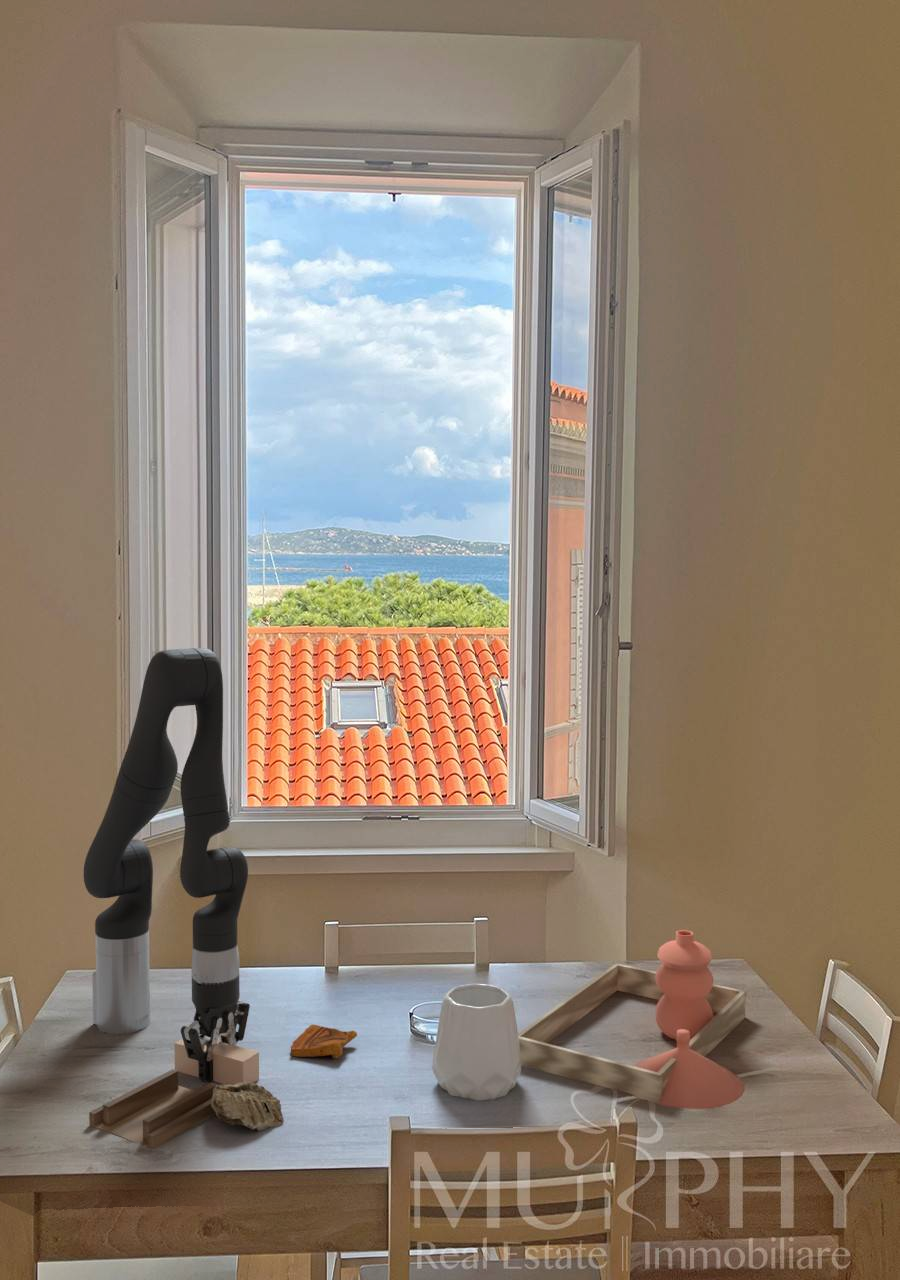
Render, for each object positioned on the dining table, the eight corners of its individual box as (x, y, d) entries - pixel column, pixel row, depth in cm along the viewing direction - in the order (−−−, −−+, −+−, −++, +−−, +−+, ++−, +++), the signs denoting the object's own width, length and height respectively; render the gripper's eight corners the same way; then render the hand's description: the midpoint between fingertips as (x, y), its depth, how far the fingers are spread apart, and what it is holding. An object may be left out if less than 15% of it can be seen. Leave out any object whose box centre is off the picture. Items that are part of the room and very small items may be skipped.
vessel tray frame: (512, 1066, 198) (513, 1036, 198) (615, 988, 232) (615, 963, 232) (659, 1106, 184) (660, 1075, 184) (745, 1017, 219) (746, 991, 218)
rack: (89, 1130, 176) (89, 1104, 175) (169, 1088, 189) (168, 1063, 189) (152, 1155, 169) (152, 1128, 168) (230, 1109, 182) (230, 1084, 182)
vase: (419, 1076, 194) (419, 985, 193) (498, 1061, 200) (499, 973, 198) (453, 1115, 181) (454, 1018, 180) (536, 1098, 187) (538, 1004, 185)
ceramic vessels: (753, 1124, 180) (755, 1002, 178) (612, 1111, 184) (612, 992, 182) (744, 1030, 214) (745, 927, 212) (625, 1021, 218) (625, 920, 216)
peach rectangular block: (174, 1072, 195) (174, 1042, 194) (191, 1063, 198) (190, 1034, 198) (243, 1092, 188) (243, 1061, 188) (259, 1082, 192) (258, 1052, 191)
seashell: (275, 1157, 175) (285, 1101, 184) (285, 1126, 172) (296, 1071, 181) (199, 1140, 174) (214, 1084, 183) (209, 1109, 171) (223, 1054, 179)
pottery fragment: (341, 1046, 197) (286, 1030, 200) (337, 1073, 198) (281, 1056, 200) (361, 1025, 207) (308, 1009, 209) (357, 1050, 207) (304, 1034, 210)
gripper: (228, 954, 200) (229, 1054, 201) (166, 981, 188) (167, 1087, 189) (263, 963, 196) (263, 1064, 197) (201, 991, 184) (202, 1099, 185)
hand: (216, 1075), depth 193 cm, fingers closed on peach rectangular block, 4 cm apart
